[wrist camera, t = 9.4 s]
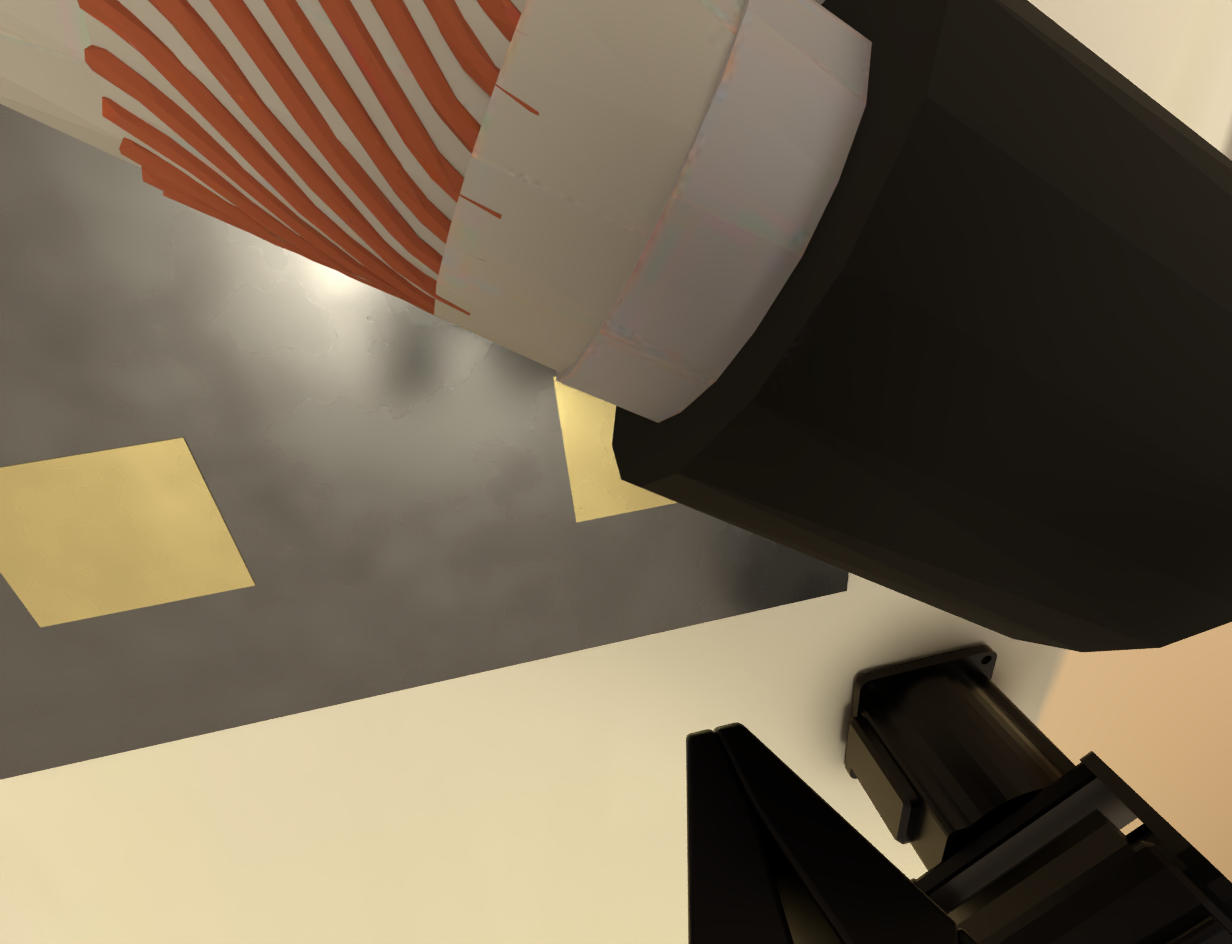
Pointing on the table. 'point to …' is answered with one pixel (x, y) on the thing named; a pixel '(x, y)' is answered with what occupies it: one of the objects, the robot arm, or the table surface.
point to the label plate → (289, 483)
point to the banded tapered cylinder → (753, 256)
